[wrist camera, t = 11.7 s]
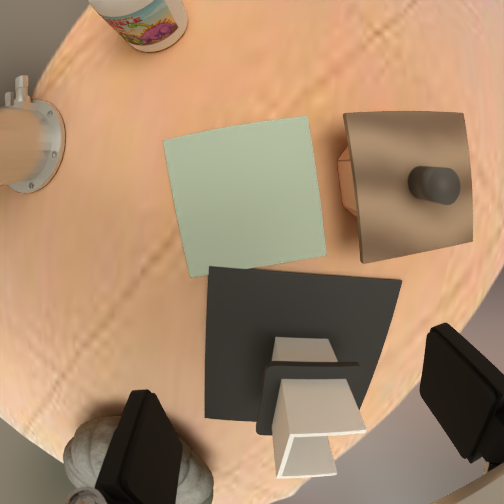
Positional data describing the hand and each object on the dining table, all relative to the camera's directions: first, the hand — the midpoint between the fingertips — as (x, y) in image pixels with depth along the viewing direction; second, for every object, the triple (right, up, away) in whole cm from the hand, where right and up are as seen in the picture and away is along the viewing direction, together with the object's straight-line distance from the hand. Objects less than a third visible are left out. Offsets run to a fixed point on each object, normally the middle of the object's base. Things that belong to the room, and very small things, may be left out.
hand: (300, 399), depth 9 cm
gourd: (-20, -29, +36) cm, 50 cm away
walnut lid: (+15, +12, +18) cm, 26 cm away
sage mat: (-2, +11, +25) cm, 27 cm away
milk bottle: (-13, +32, +19) cm, 39 cm away
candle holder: (+4, -10, +31) cm, 32 cm away
